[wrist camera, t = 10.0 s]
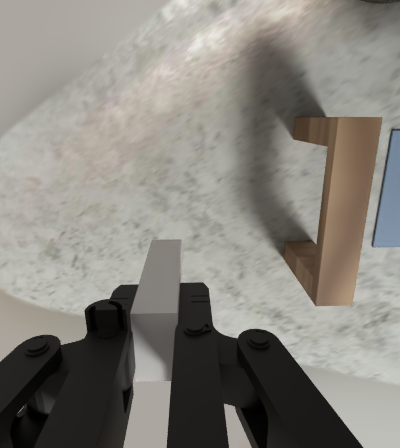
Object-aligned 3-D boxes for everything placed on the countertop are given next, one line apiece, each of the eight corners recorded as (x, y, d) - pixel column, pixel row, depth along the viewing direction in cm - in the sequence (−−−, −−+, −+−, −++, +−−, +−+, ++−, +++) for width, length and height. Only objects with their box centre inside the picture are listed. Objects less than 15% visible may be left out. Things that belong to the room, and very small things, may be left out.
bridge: (283, 259, 35) (315, 306, 26) (295, 117, 31) (338, 117, 22) (311, 258, 35) (352, 305, 27) (326, 117, 31) (382, 117, 22)
